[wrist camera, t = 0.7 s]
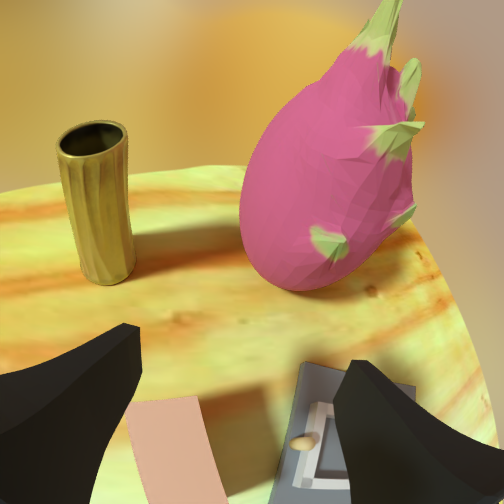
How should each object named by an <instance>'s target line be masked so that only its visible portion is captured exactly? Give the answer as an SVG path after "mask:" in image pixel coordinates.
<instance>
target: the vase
mask: <svg viewBox="0 0 504 504" xmlns="http://www.w3.org/2000/svg"><path fill="white" fill-rule="evenodd" d="M56 152H57V158H58V163H59V169H60V176H61V182H62V187H63V192H64V197H65V201H66V205H67V209H68V214H69V219H70V223H71V227H72V231H73V235H74V239H75V244H76V248H77V251H78V255H79V259H80V266H81V270H82V272H83V274H84V276H85V277H86V278H87V279H88V280H90V281H91V282H93V283H95V284H98V285H113V284H116V283H119V282H121V281H123V280H124V279H125V278H127V277H128V276H129V275H130V273H131V272H132V270H133V268H134V266H135V263H136V253H135V250H134V245H133V238H132V230H131V223H130V216H129V205H128V135H127V131H126V129H125V127H124V126H123V125H121V124H120V123H117V122H114V121H109V120H95V121H89V122H85V123H81V124H78V125H76V126H74V127H72V128H70V129H68V130H67V131H65V132H64V133H63V134H62V135H61V136H60V137H59V138H58V140H57V142H56Z"/></svg>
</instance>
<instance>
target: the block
mask: <svg viewBox="0 0 504 504" xmlns="http://www.w3.org/2000/svg"><path fill="white" fill-rule="evenodd" d="M125 417H126V422H127V427H128V431H129V436H130V440H131V445H132V449H133V453H134V457H135V461H136V464H137V468H138V471H139V475H140V478H141V481H142V485H143V488H144V491H145V494H146V497H147V500H148V503H149V504H229V503H228V500H227V497H226V494H225V491H224V488H223V485H222V482H221V479H220V476H219V473H218V470H217V467H216V464H215V460H214V457H213V454H212V450H211V447H210V444H209V440H208V436H207V433H206V429H205V426H204V422H203V418H202V414H201V410H200V406H199V402H198V398H197V396H190V397H182V398H174V399H166V400H156V401H145V402H130V403H129V405H128V407H127V409H126V411H125Z"/></svg>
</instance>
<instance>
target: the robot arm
mask: <svg viewBox="0 0 504 504" xmlns="http://www.w3.org/2000/svg"><path fill="white" fill-rule="evenodd" d="M141 374H142V360H141V343H140V327H138V326H134V325H130V324H126V323H122V324H120V325H118V326H116V327H114V328H112V329H111V330H109V331H107V332H105V333H103V334H101V335H100V336H98V337H96V338H94V339H92V340H90V341H88V342H87V343H85V344H83V345H81V346H79V347H77V348H75V349H73V350H71V351H69V352H66V353H64V354H62V355H60V356H58V357H56V358H53V359H51V360H49V361H46V362H44V363H41V364H38V365H35V366H32V367H29V368H26V369H23V370H19V371H15V372H11V373H6V374H2V375H0V504H89V503H90V498H91V494H92V490H93V487H94V483H95V480H96V476H97V473H98V470H99V467H100V464H101V461H102V458H103V455H104V452H105V450H106V448H107V445H108V443H109V441H110V439H111V437H112V435H113V433H114V431H115V429H116V428H117V426H118V424H119V422H120V420H121V418H122V416H123V414H124V413H125V411H126V409H127V407H128V405H129V403H130V401H131V399H132V398H133V396H134V393H135V391H136V388H137V385H138V383H139V380H140V377H141ZM333 408H334V417H335V425H336V429H337V433H338V437H339V441H340V445H341V449H342V453H343V457H344V461H345V465H346V469H347V473H348V478H349V484H350V495H351V504H499V502H500V501H501V500H503V499H504V450H501V449H498V448H495V447H492V446H489V445H486V444H483V443H481V442H478V441H476V440H474V439H472V438H470V437H468V436H466V435H463V434H461V433H460V432H458V431H456V430H454V429H452V428H451V427H449V426H448V425H446V424H445V423H443V422H441V421H440V420H438V419H437V418H435V417H434V416H433V415H431V414H430V413H429V412H427V411H426V410H425V409H423V408H422V407H421V406H420V405H418V404H417V403H416V402H415V401H413V400H412V399H411V398H410V397H409V396H408V395H406V394H405V393H404V392H403V391H402V390H401V389H400V388H398V387H397V386H396V385H395V384H394V383H393V382H392V381H391V380H390V379H388V378H387V377H386V376H385V375H384V374H383V373H382V372H381V371H379V370H378V369H377V368H376V367H375V366H374V365H372V364H371V363H370V362H369V361H367V360H351V363H350V365H349V367H348V369H347V372H346V374H345V376H344V378H343V380H342V382H341V384H340V386H339V389H338V391H337V393H336V395H335V397H334V399H333Z"/></svg>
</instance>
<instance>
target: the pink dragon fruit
mask: <svg viewBox="0 0 504 504" xmlns="http://www.w3.org/2000/svg"><path fill="white" fill-rule="evenodd" d="M402 2H403V0H383V1H382V3H381V5H380V6H379V8H378V9H377V11H376V13H375V15H374V16H373V18H372V20H371V22H370V23H369V20H368V21H367V23H366V24H365V26H364V28H363V29H362V31H361V32H360V34H359V35H358V36H357V37H356V38H355V39H354V40H353V42H352V43H351V44H350V45H349V46H348V47H347V48H346V49H345V50H344V51H343V52H342V53H341V54H340V55H339V56H338V58H337V59H336V61H335V62H334V64H333V65H332V66H331V68H330V69H329V70H328V71H327V72H326V73H325V74H324V76H323V77H322V78H321V79H320V80H319V81H317V82H315V83H313V84H310V85H308V86H306V87H305V88H304V89H303V90H302V91H301V92H299V93H298V94H297V95H296V96H295V97H294V98H293V99H292V100H291V101H289V102H288V103H287V104H286V105H285V106H284V107H283V108H282V109H281V110H280V111H279V112H278V114H277V115H276V116H275V117H274V118H273V120H272V121H271V122H270V124H269V125H268V127H267V128H266V130H265V131H264V133H263V135H262V137H261V138H260V140H259V142H258V144H257V146H256V148H255V150H254V152H253V154H252V156H251V159H250V162H249V164H248V167H247V170H246V173H245V177H244V182H243V187H242V192H241V198H240V208H239V216H240V232H241V237H242V241H243V246H244V249H245V251H246V254H247V256H248V258H249V260H250V262H251V264H252V265H253V267H254V268H255V270H256V271H257V272H258V273H259V274H260V275H261V276H262V277H263V278H264V279H265V280H267V281H268V282H270V283H271V284H273V285H275V286H277V287H280V288H282V289H287V290H292V291H308V290H313V289H317V288H322V287H325V286H327V285H330V284H332V283H334V282H336V281H338V280H340V279H342V278H343V277H345V276H347V275H348V274H350V273H351V272H353V271H354V270H355V269H356V268H358V267H359V266H360V265H361V264H362V263H363V262H364V261H365V260H366V259H367V258H368V257H369V256H370V255H371V254H372V253H373V252H374V251H375V250H376V249H377V248H378V246H379V245H380V244H381V243H382V241H383V240H384V239H386V238H387V237H388V236H389V235H391V234H392V233H393V232H394V231H395V230H397V229H398V228H399V227H400V226H401V225H403V224H404V223H405V222H406V221H407V220H409V219H410V218H411V217H412V215H413V213H414V211H415V209H416V206H417V204H416V203H415V202H414V201H413V195H412V183H411V179H412V151H411V141H412V138H413V136H414V135H416V134H417V133H418V132H419V131H420V130H421V129H422V127H424V125H425V122H413V120H414V118H415V116H416V114H415V110H414V107H412V105H413V102H414V99H415V96H416V93H417V89H418V85H419V82H420V79H421V75H422V74H421V63H420V62H419V60H418V59H417V58H413V59H411V60H410V61H409V62H408V63H407V64H406V65H405V66H404V68H403V69H402V71H401V72H398V71H397V70H396V69H395V68H393V67H390V60H391V52H392V45H393V42H394V39H395V37H396V32H397V25H398V18H399V11H400V8H401V5H402Z"/></svg>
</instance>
